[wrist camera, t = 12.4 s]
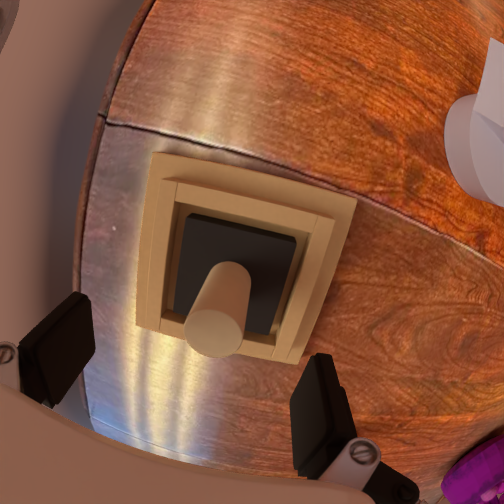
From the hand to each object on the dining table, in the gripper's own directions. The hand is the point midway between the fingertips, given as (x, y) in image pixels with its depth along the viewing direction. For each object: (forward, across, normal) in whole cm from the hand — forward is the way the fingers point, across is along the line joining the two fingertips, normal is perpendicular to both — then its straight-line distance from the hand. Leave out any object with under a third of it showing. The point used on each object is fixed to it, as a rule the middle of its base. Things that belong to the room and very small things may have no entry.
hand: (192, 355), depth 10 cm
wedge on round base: (+10, -19, -17) cm, 27 cm away
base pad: (+10, -1, 0) cm, 11 cm away
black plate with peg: (+10, -1, 0) cm, 10 cm away
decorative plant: (+9, -58, +31) cm, 66 cm away
